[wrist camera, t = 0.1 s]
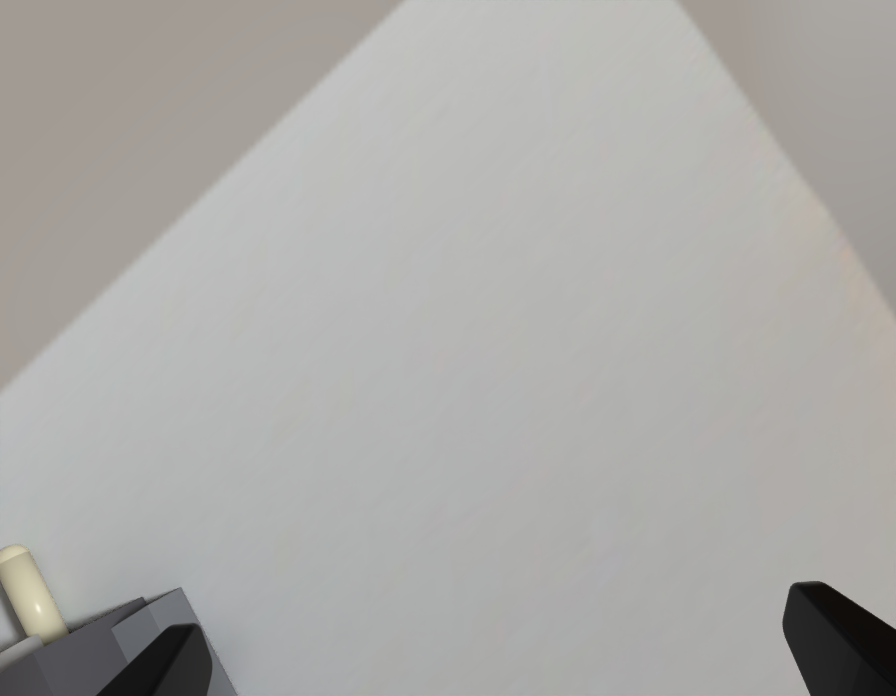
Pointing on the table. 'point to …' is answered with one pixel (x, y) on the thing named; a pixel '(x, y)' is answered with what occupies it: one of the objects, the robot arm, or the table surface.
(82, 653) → the grey channel tray
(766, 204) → the table surface
